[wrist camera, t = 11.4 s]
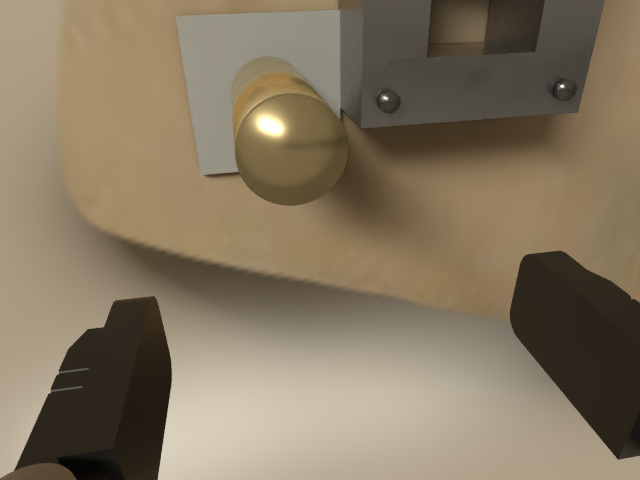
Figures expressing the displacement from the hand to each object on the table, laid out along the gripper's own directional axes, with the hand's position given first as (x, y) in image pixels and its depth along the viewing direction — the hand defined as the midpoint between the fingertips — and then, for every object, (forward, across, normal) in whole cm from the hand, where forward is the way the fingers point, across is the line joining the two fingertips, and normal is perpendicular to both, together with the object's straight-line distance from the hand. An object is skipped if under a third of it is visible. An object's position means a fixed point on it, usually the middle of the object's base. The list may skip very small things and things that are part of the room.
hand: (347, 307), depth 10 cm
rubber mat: (+24, 0, 0) cm, 24 cm away
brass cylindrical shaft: (+24, 0, 0) cm, 24 cm away
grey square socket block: (+24, -12, -6) cm, 27 cm away
